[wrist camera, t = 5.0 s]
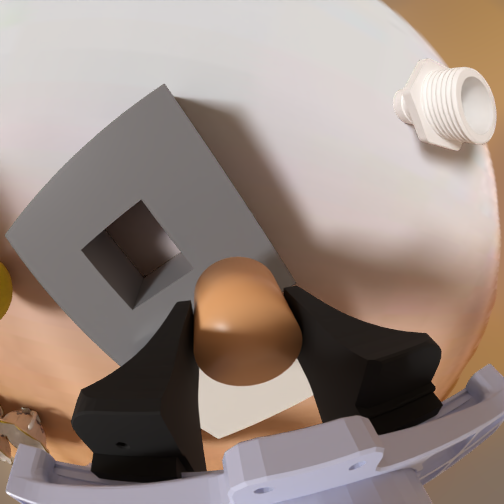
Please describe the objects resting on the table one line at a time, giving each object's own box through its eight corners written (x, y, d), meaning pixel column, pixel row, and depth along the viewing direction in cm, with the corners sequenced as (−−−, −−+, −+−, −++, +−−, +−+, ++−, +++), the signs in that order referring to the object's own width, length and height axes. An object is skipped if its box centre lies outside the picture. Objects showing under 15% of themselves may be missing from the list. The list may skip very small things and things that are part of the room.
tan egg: (277, 252, 13) (305, 296, 9) (276, 323, 15) (299, 377, 11) (188, 261, 13) (184, 310, 9) (200, 332, 14) (202, 391, 10)
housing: (320, 321, 25) (339, 352, 21) (196, 389, 26) (198, 424, 22) (173, 96, 16) (164, 83, 12) (35, 216, 17) (4, 235, 13)
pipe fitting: (413, 60, 17) (480, 48, 10) (441, 133, 20) (508, 142, 13) (362, 76, 18) (431, 59, 10) (395, 157, 21) (467, 173, 13)
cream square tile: (321, 372, 21) (328, 386, 19) (216, 424, 21) (218, 438, 20) (255, 283, 17) (260, 297, 15) (130, 358, 17) (126, 374, 16)
